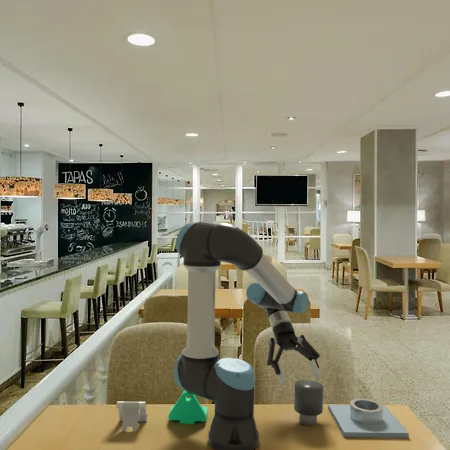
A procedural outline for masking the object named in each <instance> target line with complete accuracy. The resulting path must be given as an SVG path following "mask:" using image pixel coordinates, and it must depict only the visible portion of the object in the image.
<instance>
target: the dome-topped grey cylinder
mask: <svg viewBox="0 0 450 450" xmlns="http://www.w3.org/2000/svg"><path fill="white" fill-rule="evenodd" d="M293 396H294V398H293V399H294V400H293V402H294V404H293V406H294V407H293V410H294V411H295V412H296V413H298V415H299V416H298V417H299V418H298V419H299V421H298V422H299V423H300V424H301V425H305V426H315V425H317V421H318V420H317V419H318V416H320V415H321V414H323V411H324V385H323V384H322V383H321V382H319V381H317V380H309V379H306V380H305V379H303V380H297V381H296V382H295V383H294V395H293Z"/></svg>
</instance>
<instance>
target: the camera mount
mask: <svg viewBox="0 0 450 450" xmlns="http://www.w3.org/2000/svg"><path fill="white" fill-rule="evenodd" d="M208 410H209V409H208V406H206V405H205V406H204V405H201V403H200V401H199V400H198V398H197V395H195V394H190V393H188V392H187V391H185V390H183V391H182V393H181V395H180V397H179V398H178V400H177V401H176V403H175V404H174V405H172V406H171V408H170V411H169V413H168V421H179V424H189V425H190V424H191V425H194V424H196V422H206V421H207V417H208V412H209V411H208Z"/></svg>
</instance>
